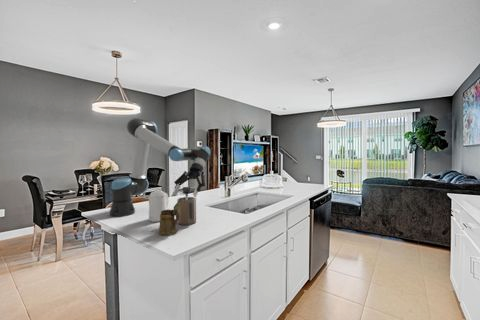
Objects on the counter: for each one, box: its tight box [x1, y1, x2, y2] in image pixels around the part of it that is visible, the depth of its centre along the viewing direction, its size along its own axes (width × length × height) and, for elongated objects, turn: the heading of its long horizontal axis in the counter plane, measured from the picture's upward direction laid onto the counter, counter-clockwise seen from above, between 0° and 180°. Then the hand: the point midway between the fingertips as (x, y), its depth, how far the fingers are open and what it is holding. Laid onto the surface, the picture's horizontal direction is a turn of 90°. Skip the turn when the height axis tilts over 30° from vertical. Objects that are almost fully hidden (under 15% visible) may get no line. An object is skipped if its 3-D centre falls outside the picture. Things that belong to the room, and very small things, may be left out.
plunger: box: [182, 186, 191, 200], centre depth 135 cm, size 6×6×18 cm
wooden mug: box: [157, 199, 183, 237], centre depth 117 cm, size 9×14×18 cm, turn 73°
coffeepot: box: [144, 188, 169, 223], centre depth 141 cm, size 11×25×19 cm, turn 168°
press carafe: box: [176, 196, 197, 226], centre depth 134 cm, size 12×10×14 cm
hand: (184, 194), depth 132 cm, fingers open, 13 cm apart
